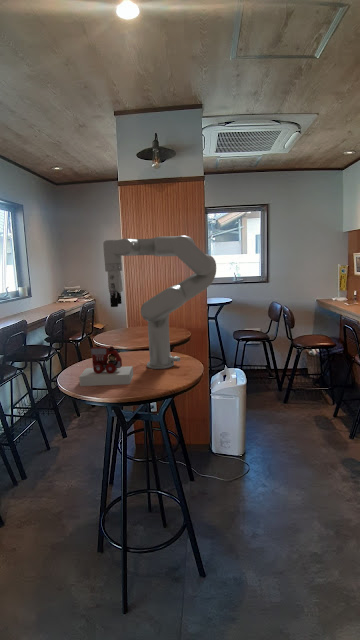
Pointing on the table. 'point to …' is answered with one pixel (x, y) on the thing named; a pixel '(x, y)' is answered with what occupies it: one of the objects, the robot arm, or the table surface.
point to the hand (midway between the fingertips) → (116, 305)
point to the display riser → (106, 377)
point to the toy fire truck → (105, 359)
